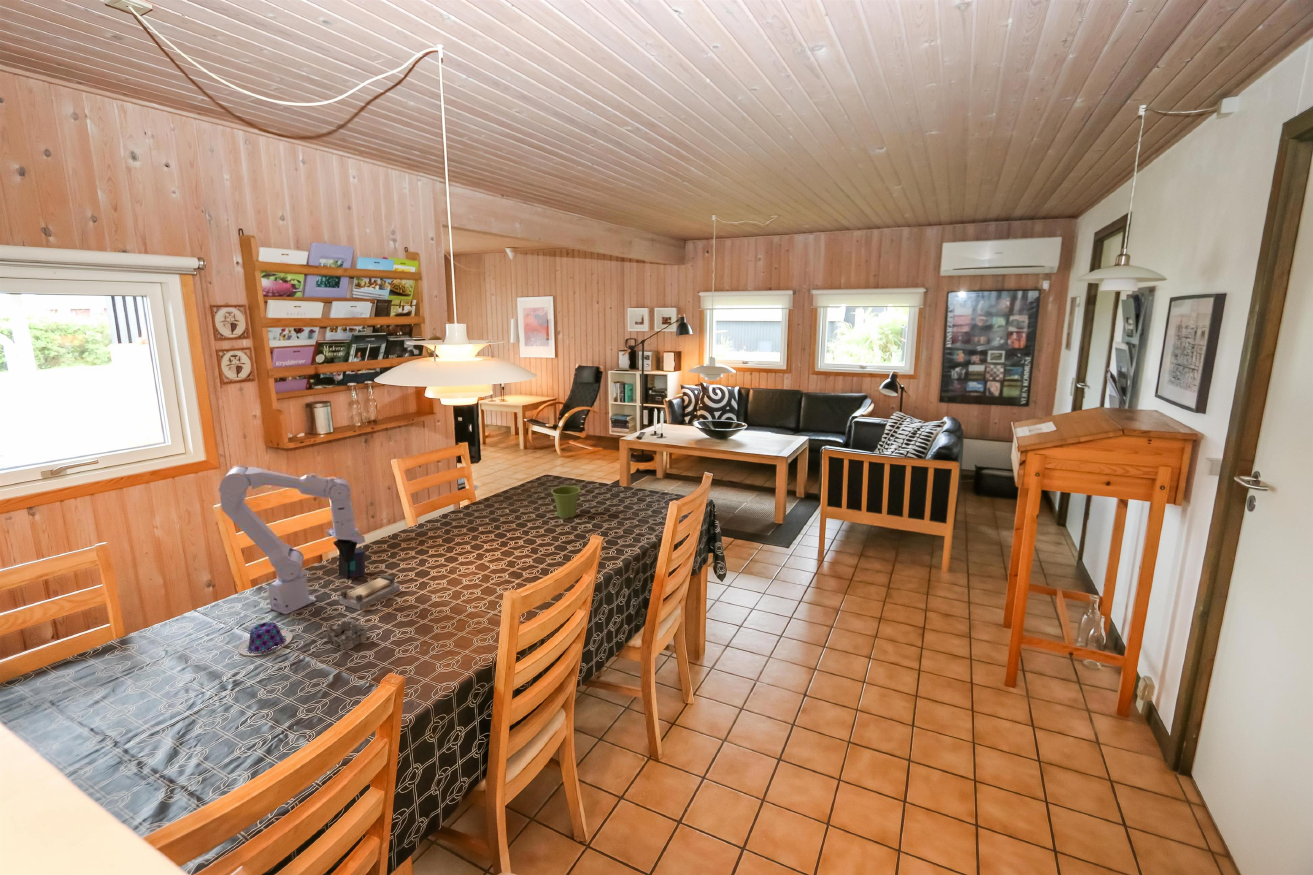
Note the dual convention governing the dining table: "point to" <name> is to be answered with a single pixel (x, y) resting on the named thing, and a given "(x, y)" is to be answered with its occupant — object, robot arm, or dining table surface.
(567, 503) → the plant pot
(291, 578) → the robot arm
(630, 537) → the dining table surface
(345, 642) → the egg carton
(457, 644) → the dining table surface
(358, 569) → the speaker
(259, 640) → the purple beige domed disc
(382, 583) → the latch bar
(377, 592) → the block
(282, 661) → the dining table surface
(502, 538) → the dining table surface
